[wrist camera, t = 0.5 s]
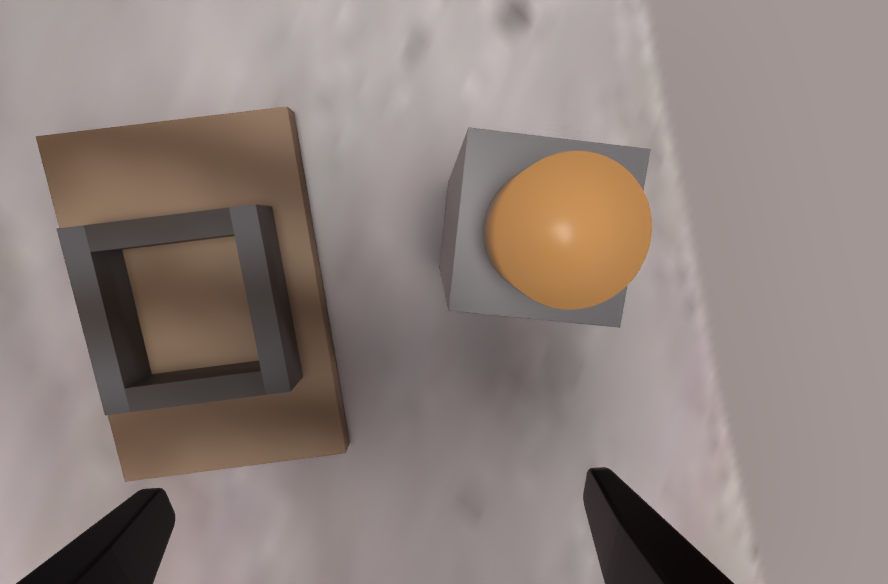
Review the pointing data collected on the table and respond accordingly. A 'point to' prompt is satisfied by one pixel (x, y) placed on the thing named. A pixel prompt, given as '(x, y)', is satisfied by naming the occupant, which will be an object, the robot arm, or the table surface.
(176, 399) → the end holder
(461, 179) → the connector plug
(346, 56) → the table surface
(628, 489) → the robot arm
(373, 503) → the table surface
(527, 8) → the table surface
